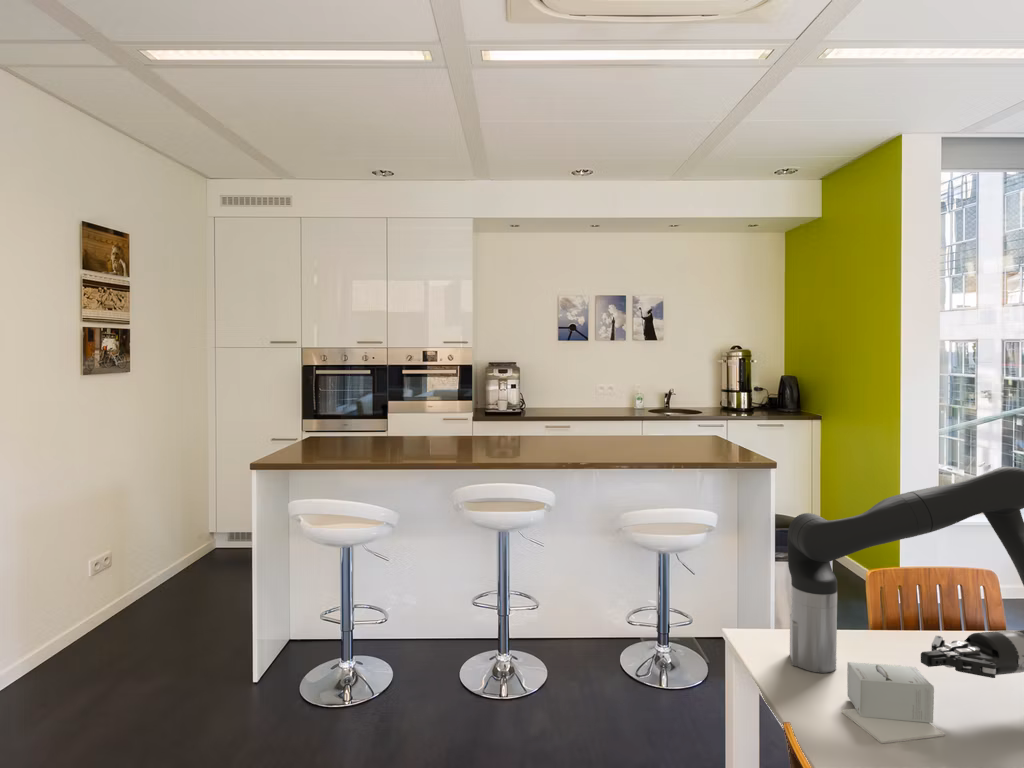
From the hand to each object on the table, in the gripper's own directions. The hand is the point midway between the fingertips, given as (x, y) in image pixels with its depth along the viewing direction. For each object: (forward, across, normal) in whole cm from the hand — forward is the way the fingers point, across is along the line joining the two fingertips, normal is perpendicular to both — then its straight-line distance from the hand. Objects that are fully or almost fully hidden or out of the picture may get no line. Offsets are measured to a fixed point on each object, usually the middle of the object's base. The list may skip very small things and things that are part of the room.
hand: (924, 659), depth 115 cm
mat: (+7, 0, +12) cm, 13 cm away
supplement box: (-2, -1, +7) cm, 8 cm away
